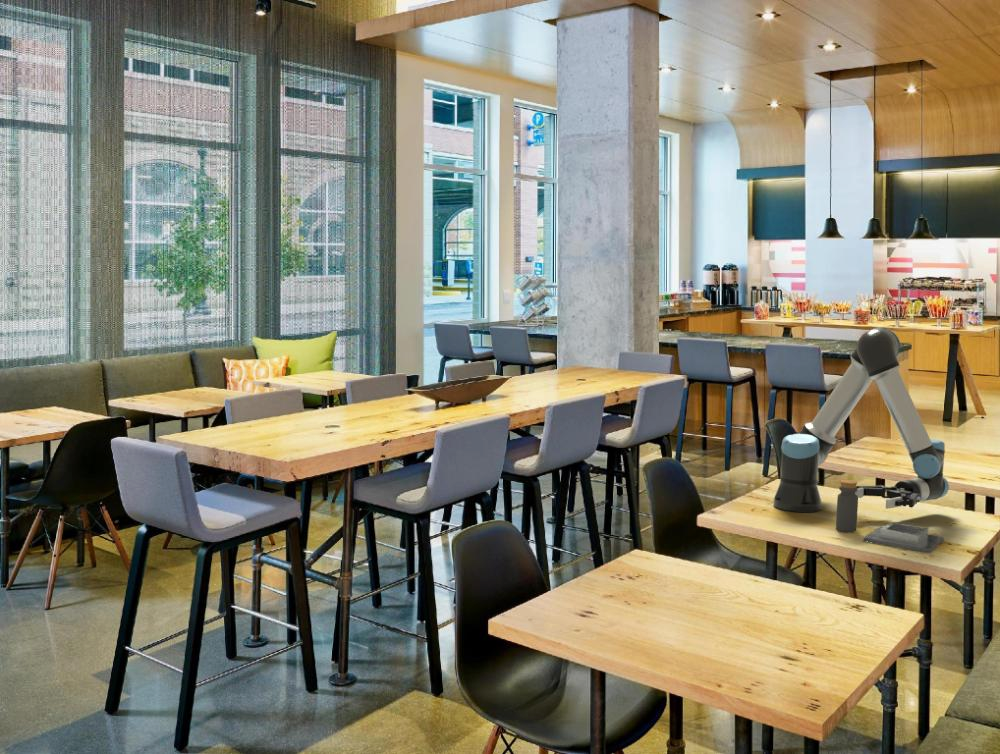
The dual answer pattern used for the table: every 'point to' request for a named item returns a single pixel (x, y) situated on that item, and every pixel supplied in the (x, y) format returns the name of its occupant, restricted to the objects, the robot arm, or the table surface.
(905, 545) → the collar plate
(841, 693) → the table surface
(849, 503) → the bottle
